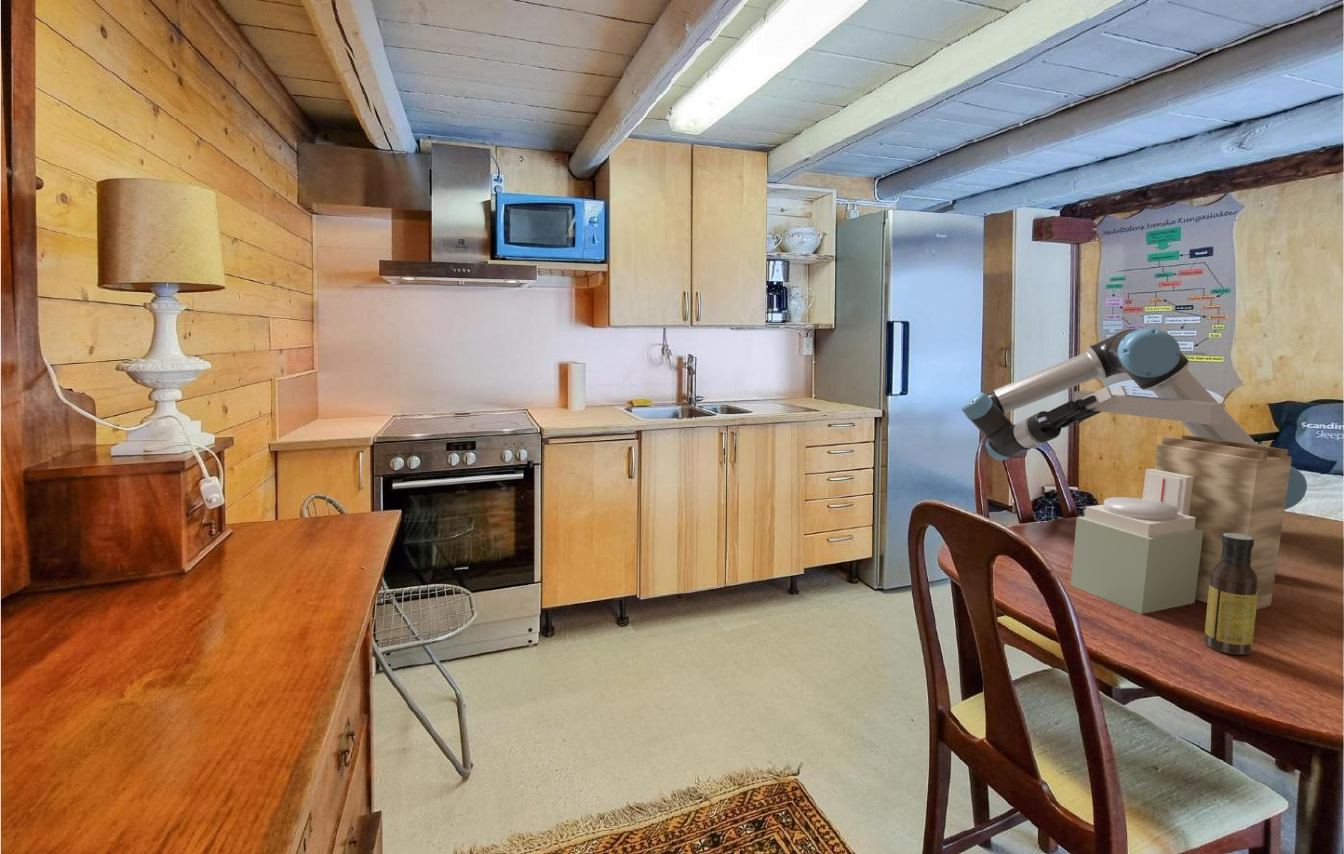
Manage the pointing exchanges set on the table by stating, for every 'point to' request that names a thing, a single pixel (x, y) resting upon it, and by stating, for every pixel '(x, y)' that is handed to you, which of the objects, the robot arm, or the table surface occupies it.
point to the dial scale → (1150, 506)
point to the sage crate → (1136, 566)
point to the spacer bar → (1160, 408)
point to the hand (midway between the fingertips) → (1117, 391)
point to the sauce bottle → (1232, 598)
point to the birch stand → (1232, 500)
